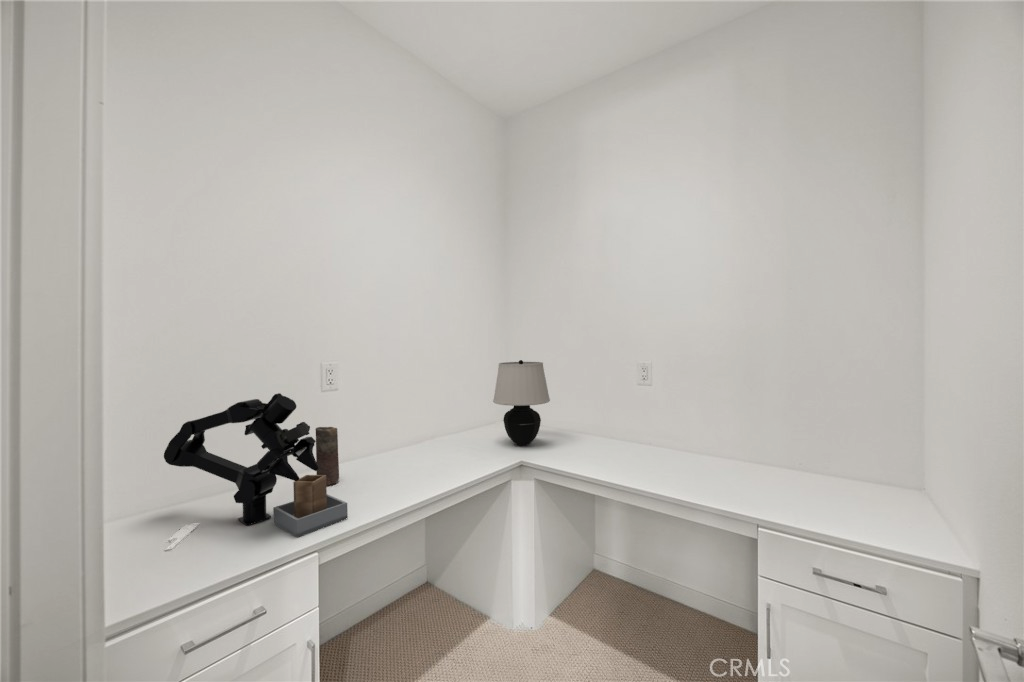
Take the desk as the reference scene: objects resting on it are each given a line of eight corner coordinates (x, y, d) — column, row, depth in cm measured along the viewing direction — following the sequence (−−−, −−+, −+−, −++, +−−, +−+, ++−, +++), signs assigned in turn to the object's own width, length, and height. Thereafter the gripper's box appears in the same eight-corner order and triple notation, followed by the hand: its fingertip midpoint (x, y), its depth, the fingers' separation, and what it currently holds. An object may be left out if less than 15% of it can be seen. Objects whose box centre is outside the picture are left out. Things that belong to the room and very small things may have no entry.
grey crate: (273, 523, 116) (273, 507, 116) (322, 507, 127) (322, 492, 127) (297, 537, 107) (296, 520, 107) (347, 518, 118) (347, 502, 118)
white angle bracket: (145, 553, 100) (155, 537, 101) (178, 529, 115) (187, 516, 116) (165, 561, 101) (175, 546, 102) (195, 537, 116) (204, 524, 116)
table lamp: (497, 437, 212) (496, 359, 212) (551, 437, 209) (549, 358, 209) (489, 452, 185) (487, 362, 185) (550, 452, 182) (548, 361, 182)
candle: (317, 481, 150) (315, 426, 150) (339, 478, 153) (337, 424, 153) (316, 488, 143) (315, 430, 143) (339, 484, 146) (338, 428, 146)
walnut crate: (294, 521, 114) (293, 481, 114) (307, 512, 120) (306, 474, 120) (314, 522, 114) (313, 482, 114) (327, 513, 120) (326, 475, 120)
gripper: (267, 420, 108) (307, 464, 107) (309, 409, 127) (344, 446, 126) (239, 450, 109) (279, 494, 108) (285, 435, 127) (319, 472, 126)
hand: (308, 474), depth 117 cm, fingers open, 9 cm apart
